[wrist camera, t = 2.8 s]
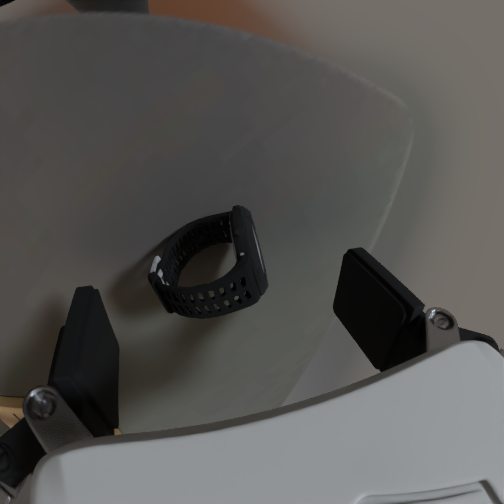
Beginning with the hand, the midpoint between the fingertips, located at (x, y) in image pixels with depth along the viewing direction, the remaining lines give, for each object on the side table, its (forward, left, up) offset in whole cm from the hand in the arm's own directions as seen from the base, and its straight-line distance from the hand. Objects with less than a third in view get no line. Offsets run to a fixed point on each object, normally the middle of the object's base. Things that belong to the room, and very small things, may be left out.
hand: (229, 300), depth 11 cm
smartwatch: (-1, 0, -5) cm, 5 cm away
